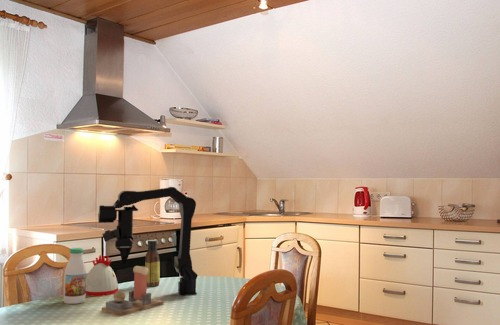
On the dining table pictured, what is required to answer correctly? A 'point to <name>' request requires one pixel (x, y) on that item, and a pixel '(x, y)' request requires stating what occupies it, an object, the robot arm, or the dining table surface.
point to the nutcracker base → (134, 307)
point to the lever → (140, 282)
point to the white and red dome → (101, 278)
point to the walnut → (119, 296)
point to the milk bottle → (75, 278)
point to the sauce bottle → (152, 264)
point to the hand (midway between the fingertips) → (124, 262)
